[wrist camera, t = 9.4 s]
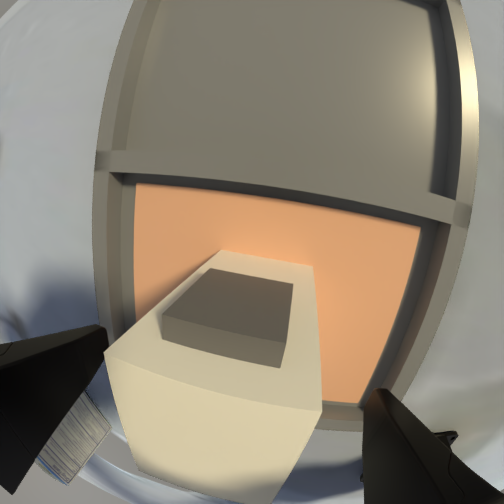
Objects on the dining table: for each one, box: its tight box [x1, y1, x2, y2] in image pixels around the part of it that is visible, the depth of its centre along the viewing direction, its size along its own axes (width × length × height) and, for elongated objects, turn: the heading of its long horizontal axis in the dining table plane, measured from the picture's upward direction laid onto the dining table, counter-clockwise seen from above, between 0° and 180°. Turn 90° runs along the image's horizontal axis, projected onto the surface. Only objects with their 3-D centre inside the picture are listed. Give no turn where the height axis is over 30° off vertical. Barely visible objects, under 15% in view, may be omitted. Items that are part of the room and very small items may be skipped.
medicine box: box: [34, 391, 112, 486], centre depth 15 cm, size 8×4×9 cm, turn 18°
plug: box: [104, 250, 322, 504], centre depth 8 cm, size 6×4×8 cm
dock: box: [92, 0, 479, 432], centre depth 10 cm, size 25×17×2 cm
